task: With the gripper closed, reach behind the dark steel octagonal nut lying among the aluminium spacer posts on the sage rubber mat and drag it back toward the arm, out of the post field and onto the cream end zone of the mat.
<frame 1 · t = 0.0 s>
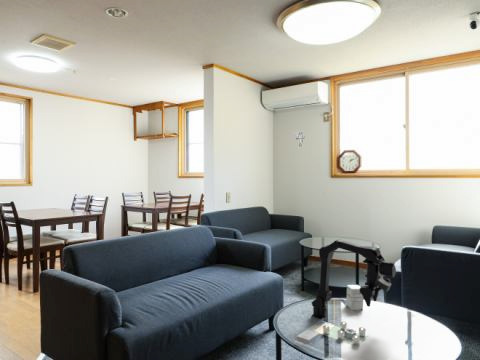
hand: (371, 303, 170), 15 cm above the table, fingers open, 9 cm apart
mat: (340, 335, 167), on the table
nut: (350, 337, 164), point 1 cm above the table, touching mat
spacer field: (319, 316, 189), resting on mat
supplement box: (354, 308, 202), on the table
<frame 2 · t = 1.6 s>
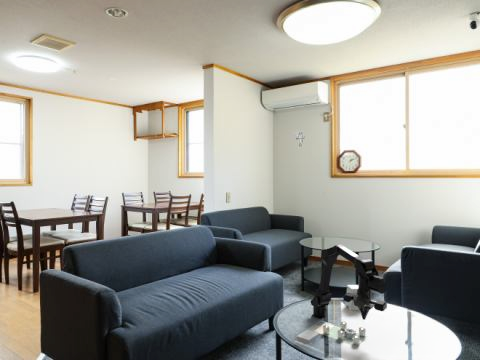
hand: (364, 319, 160), 11 cm above the table, fingers closed
nothing on the table moved.
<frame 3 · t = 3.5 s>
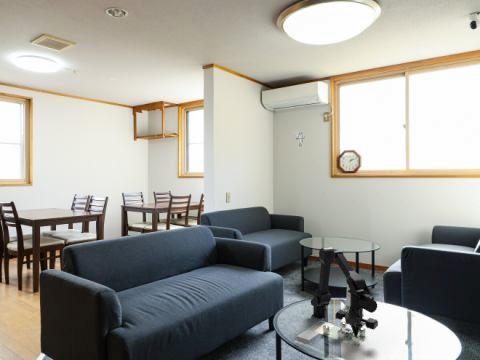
hand: (355, 336, 162), 2 cm above the table, fingers closed
nut: (347, 336, 165), point 1 cm above the table, touching gripper
everything else where it was.
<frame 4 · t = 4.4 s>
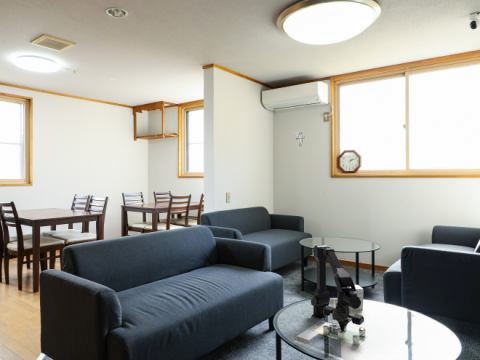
hand: (342, 332, 166), 2 cm above the table, fingers closed
nut: (334, 332, 169), point 1 cm above the table, touching gripper, mat
everything else where it was.
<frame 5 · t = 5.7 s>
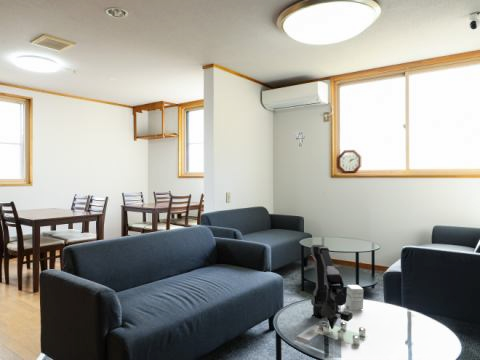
hand: (332, 328, 170), 2 cm above the table, fingers closed
nut: (324, 328, 172), point 1 cm above the table, touching gripper
everything else where it was.
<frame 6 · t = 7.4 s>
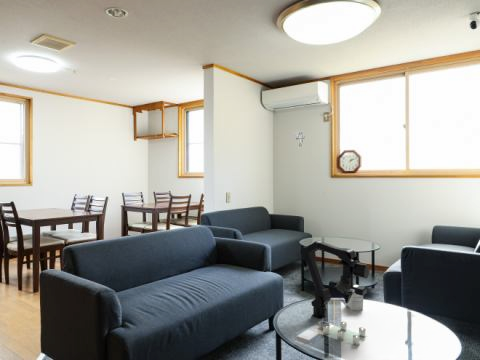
hand: (346, 303, 177), 12 cm above the table, fingers closed
nut: (323, 328, 172), point 1 cm above the table, touching mat
everything else where it was.
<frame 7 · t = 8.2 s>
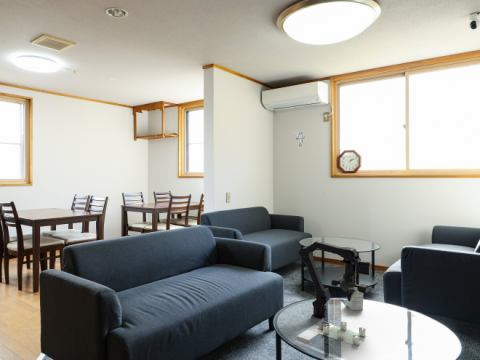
hand: (349, 301, 180), 12 cm above the table, fingers closed
nothing on the table moved.
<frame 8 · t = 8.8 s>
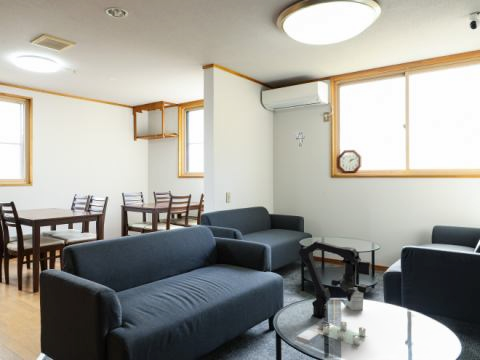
hand: (349, 301, 180), 12 cm above the table, fingers closed
nothing on the table moved.
at the end: nut inside the target area (0.6 cm from its centre), point 0.8 cm above the table; nut touching mat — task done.
